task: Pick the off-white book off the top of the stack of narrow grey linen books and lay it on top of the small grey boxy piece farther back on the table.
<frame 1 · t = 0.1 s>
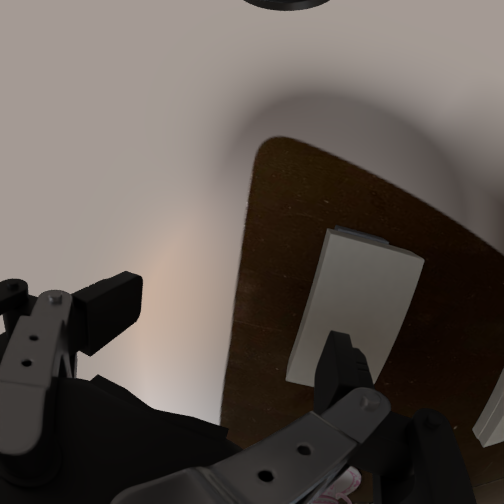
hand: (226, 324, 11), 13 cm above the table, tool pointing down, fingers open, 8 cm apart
white book: (349, 310, 19), point 4 cm above the table, touching grey books
teacup: (316, 480, 28), on the table
grey boxy piece: (503, 397, 21), on the table
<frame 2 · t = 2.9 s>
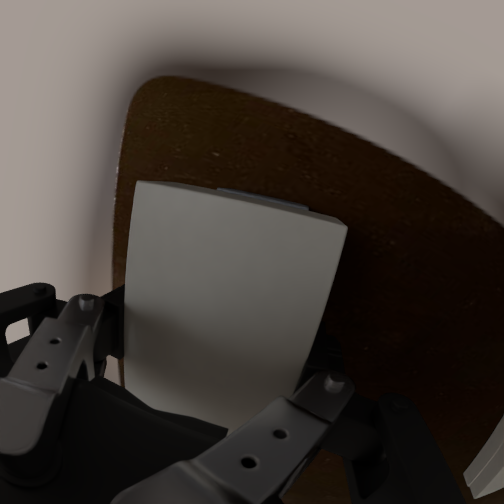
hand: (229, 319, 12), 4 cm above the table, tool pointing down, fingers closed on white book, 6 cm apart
grey books: (248, 290, 15), on the table
white book: (225, 326, 11), point 4 cm above the table, touching grey books, gripper
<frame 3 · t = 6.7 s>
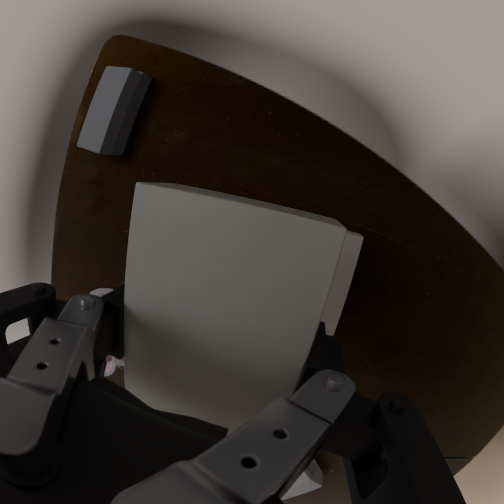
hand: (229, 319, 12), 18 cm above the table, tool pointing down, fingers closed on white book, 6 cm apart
grey books: (124, 113, 29), on the table
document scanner: (214, 443, 37), on the table
white book: (225, 327, 11), point 19 cm above the table, touching gripper
teacup: (116, 327, 35), on the table
grey boxy piece: (313, 273, 29), on the table
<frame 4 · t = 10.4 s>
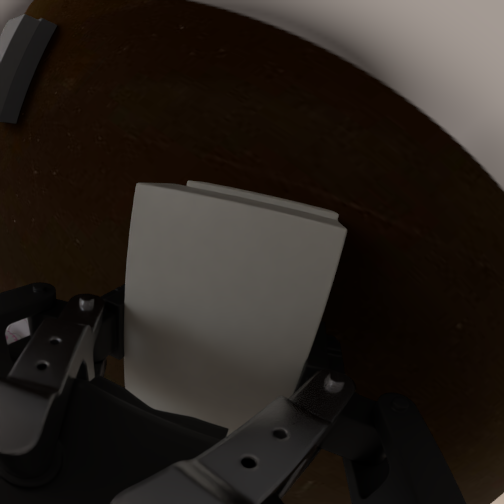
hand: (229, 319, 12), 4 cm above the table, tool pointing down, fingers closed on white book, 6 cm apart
grey books: (25, 72, 16), on the table
white book: (225, 327, 11), point 5 cm above the table, touching gripper
teacup: (22, 344, 22), on the table
grey boxy piece: (249, 289, 16), on the table
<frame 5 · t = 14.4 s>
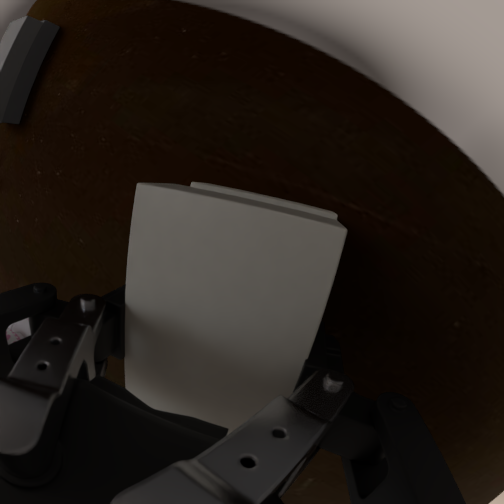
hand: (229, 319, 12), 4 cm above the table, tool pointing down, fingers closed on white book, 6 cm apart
grey books: (28, 73, 16), on the table
white book: (225, 327, 11), point 5 cm above the table, touching gripper
teacup: (24, 343, 23), on the table
grey boxy piece: (251, 288, 16), on the table
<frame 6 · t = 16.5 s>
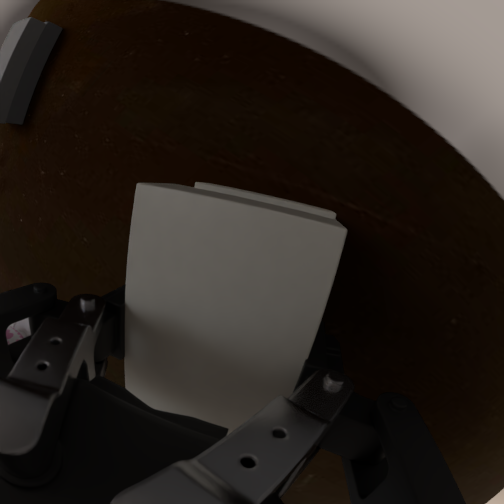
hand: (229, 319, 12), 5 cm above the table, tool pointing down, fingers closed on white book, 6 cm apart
grey books: (31, 74, 17), on the table
white book: (225, 327, 11), point 6 cm above the table, touching gripper
teacup: (27, 341, 23), on the table
grey boxy piece: (252, 285, 17), on the table
when the fingers open (5 cm above the table, at t = 18.4 s): white book drops 2 cm, resting on grey boxy piece.
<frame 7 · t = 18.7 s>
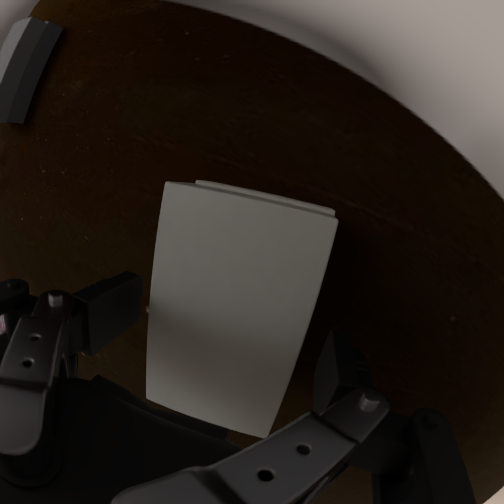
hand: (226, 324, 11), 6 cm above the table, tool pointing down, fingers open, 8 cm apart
grey books: (32, 73, 17), on the table
white book: (236, 308, 13), point 4 cm above the table, touching grey boxy piece
grey boxy piece: (252, 282, 17), on the table
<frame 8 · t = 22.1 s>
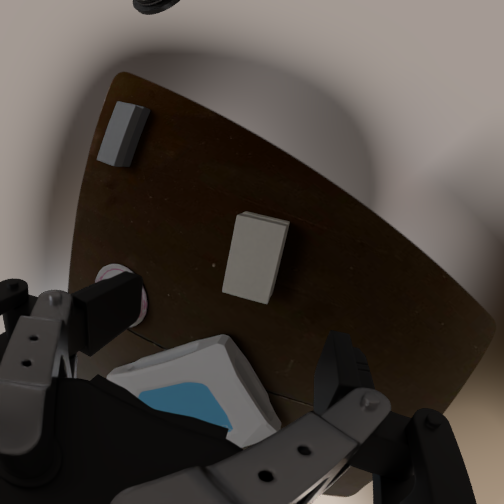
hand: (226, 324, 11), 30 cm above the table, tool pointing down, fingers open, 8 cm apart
grey books: (130, 135, 42), on the table
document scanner: (193, 394, 49), on the table
white book: (256, 256, 38), point 4 cm above the table, touching grey boxy piece
teacup: (121, 295, 48), on the table
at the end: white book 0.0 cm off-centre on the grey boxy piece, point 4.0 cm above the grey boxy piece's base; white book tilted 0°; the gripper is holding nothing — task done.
